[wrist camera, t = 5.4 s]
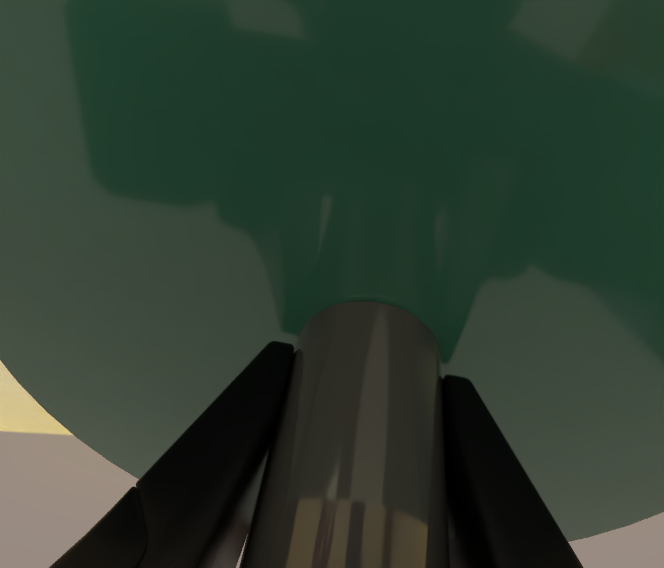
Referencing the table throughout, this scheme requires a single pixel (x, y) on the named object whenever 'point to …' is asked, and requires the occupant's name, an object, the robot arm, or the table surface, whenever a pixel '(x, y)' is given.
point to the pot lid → (345, 246)
